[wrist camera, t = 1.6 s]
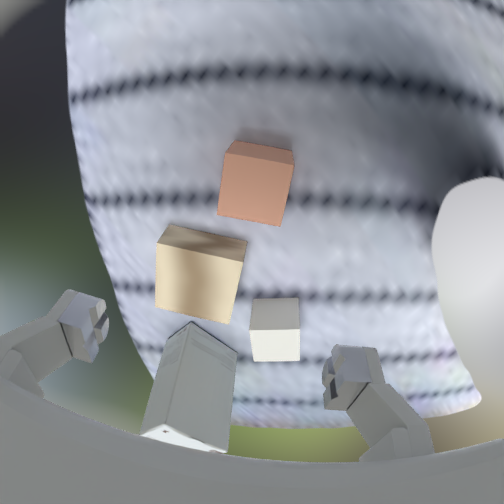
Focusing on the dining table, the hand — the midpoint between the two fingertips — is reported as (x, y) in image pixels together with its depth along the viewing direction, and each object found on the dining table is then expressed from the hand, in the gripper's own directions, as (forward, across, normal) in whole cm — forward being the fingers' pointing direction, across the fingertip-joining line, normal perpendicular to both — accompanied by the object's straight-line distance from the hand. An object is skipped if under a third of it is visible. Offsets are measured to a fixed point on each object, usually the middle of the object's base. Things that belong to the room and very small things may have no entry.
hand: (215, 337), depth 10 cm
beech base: (+20, +4, +11) cm, 23 cm away
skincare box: (+20, +2, +24) cm, 31 cm away
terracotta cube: (+20, 0, 0) cm, 20 cm away
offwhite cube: (+20, -5, +16) cm, 26 cm away
